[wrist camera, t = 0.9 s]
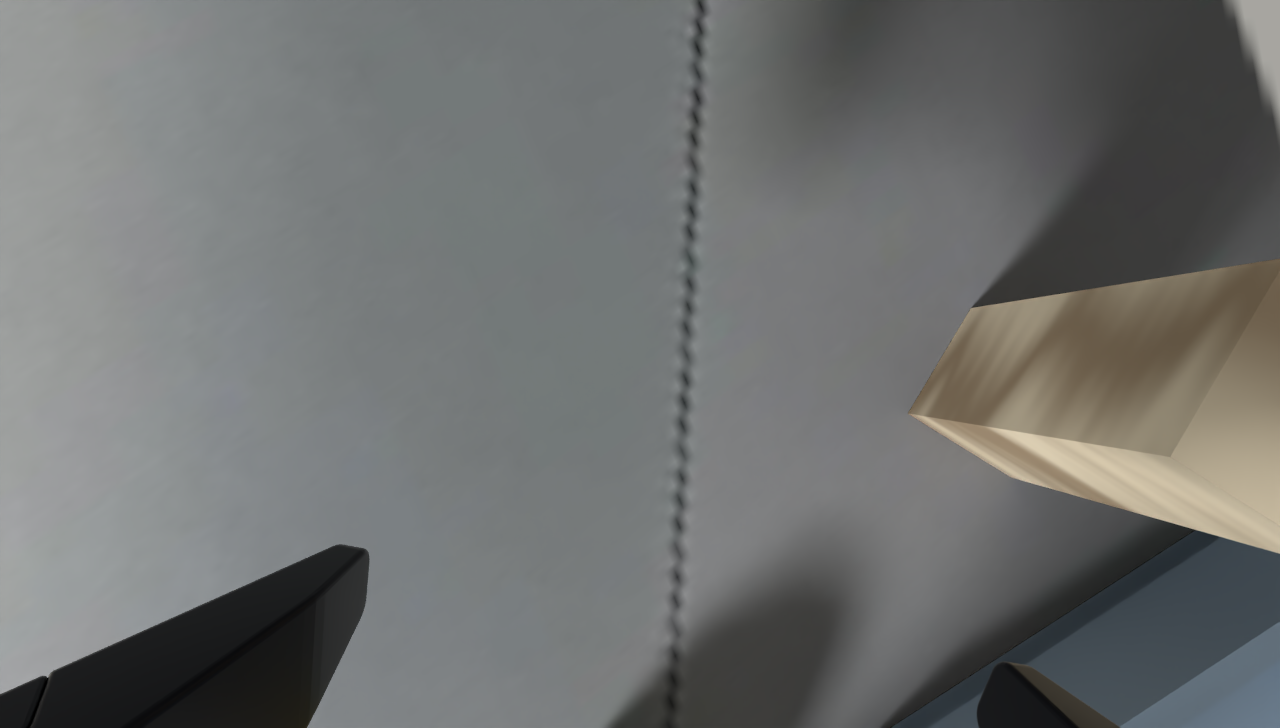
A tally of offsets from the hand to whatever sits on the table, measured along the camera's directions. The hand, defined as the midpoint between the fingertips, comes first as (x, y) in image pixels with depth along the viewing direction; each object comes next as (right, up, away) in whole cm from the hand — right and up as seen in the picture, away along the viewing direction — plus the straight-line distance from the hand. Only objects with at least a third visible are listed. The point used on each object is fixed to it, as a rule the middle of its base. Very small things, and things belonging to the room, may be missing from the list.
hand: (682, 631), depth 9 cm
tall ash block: (+12, +3, +15) cm, 19 cm away
